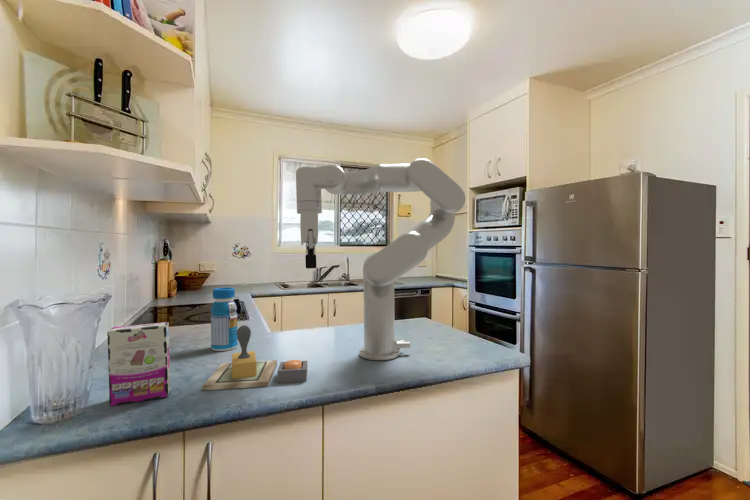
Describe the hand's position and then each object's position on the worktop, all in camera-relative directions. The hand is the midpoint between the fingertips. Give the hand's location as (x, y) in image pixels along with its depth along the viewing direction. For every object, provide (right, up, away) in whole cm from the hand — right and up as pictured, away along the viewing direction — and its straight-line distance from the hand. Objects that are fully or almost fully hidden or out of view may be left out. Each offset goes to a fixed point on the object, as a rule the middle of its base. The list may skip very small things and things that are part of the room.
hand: (311, 268), depth 109 cm
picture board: (-15, -28, -16) cm, 35 cm away
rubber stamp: (-15, -26, -16) cm, 34 cm away
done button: (-2, -27, -17) cm, 32 cm away
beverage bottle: (-31, -28, +10) cm, 43 cm away
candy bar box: (-33, -28, -29) cm, 52 cm away
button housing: (-2, -27, -17) cm, 32 cm away
